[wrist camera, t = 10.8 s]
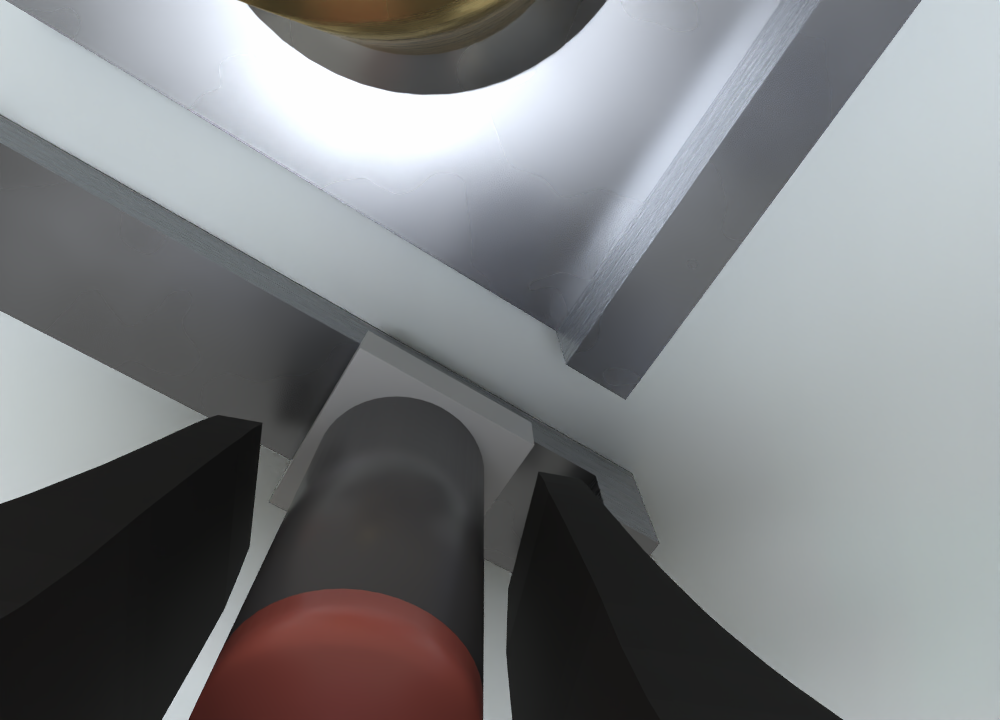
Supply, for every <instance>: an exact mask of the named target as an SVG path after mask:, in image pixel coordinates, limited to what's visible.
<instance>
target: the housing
mask: <svg viewBox="0 0 1000 720" xmlns="http://www.w3.org/2000/svg"><path fill="white" fill-rule="evenodd" d="M238 1H240V2H243V3H246V4H249V5H251V6H254V7H257V8H260V9H262V10H265V11H268V12H271V13H273V14H276V15H279V16H282V17H284V18H287V19H290V20H293V21H295V22H298V23H301V24H304V25H306V26H309V27H312V28H315V29H317V30H320V31H323V32H326V33H328V34H331V35H334V36H337V37H339V38H342V39H345V40H348V41H350V42H353V43H356V44H359V45H362V46H365V47H367V48H370V49H373V50H378V51H383V52H387V53H392V54H401V55H417V56H418V55H430V54H441V53H445V52H450V51H454V50H458V49H462V48H465V47H467V46H470V45H473V44H475V43H478V42H481V41H483V40H485V39H486V38H488V37H490V36H492V35H494V34H496V33H497V32H499V31H501V30H503V29H504V28H505V27H507V26H508V25H509V24H511V23H512V22H513V21H515V20H516V19H517V18H519V17H520V16H521V15H522V14H523V13H524V12H525V11H526V10H527V9H528V8H529V7H530V6H531V5H532V4H533V3H534V2H535V1H537V0H238Z"/></svg>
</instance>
